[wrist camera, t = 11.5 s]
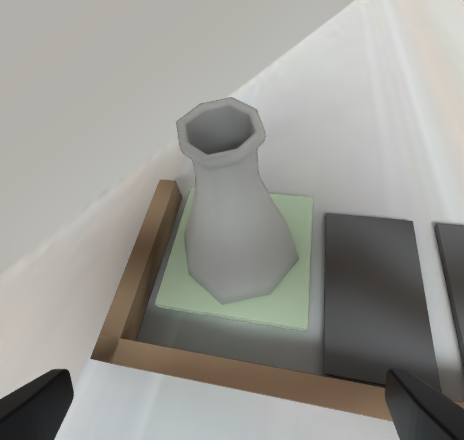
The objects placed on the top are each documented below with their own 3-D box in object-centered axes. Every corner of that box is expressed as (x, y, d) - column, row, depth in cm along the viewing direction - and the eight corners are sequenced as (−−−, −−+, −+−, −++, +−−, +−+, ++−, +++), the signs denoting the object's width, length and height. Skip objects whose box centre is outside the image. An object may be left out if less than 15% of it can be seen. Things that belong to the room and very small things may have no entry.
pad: (305, 331, 17) (307, 328, 16) (158, 307, 18) (154, 304, 17) (311, 203, 21) (313, 196, 20) (193, 193, 23) (191, 186, 22)
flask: (168, 233, 20) (97, 111, 12) (257, 187, 21) (252, 48, 13) (216, 328, 16) (164, 251, 8) (319, 265, 18) (370, 142, 9)
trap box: (1091, 564, 10) (1258, 597, 8) (107, 362, 17) (90, 358, 15) (806, 254, 16) (869, 237, 14) (167, 195, 23) (159, 179, 21)
